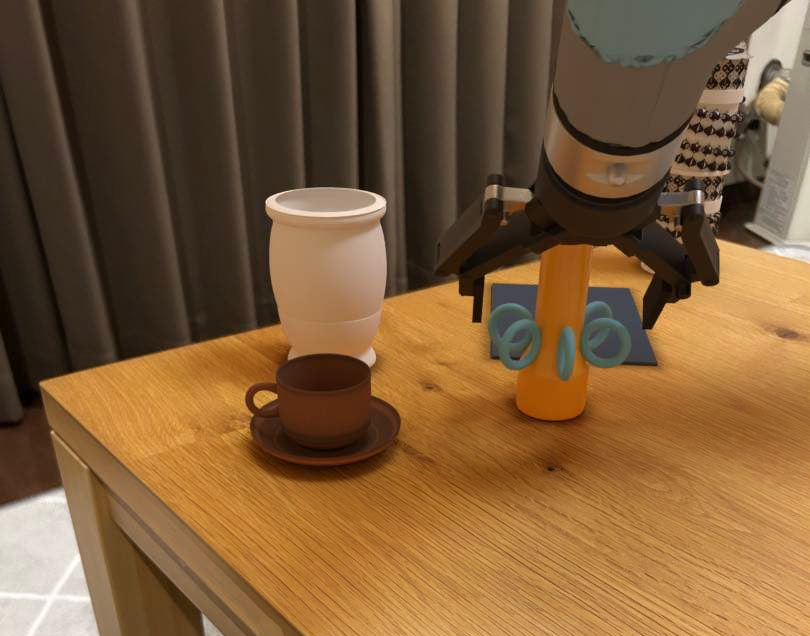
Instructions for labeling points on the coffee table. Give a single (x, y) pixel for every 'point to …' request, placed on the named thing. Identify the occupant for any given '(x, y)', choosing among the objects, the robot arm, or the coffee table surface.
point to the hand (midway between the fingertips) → (561, 310)
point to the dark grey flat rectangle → (609, 348)
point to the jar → (328, 269)
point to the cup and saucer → (322, 412)
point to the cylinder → (558, 337)
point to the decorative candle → (710, 138)
